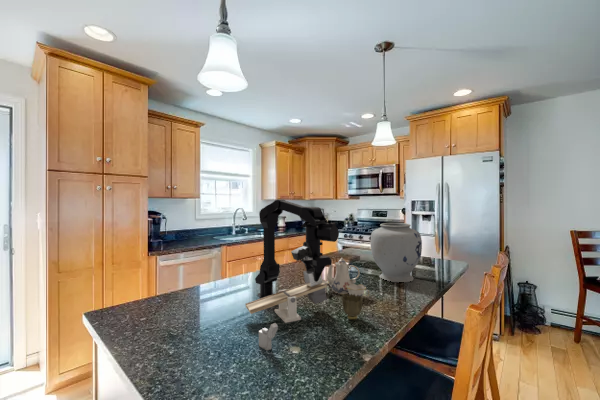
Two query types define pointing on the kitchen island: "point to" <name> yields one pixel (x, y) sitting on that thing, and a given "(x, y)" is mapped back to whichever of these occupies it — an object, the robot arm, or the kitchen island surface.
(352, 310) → the cup
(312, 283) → the steel block
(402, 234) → the apothecary jar
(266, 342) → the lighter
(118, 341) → the kitchen island surface
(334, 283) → the chinaware
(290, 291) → the beam
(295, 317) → the pivot stand
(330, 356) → the kitchen island surface
